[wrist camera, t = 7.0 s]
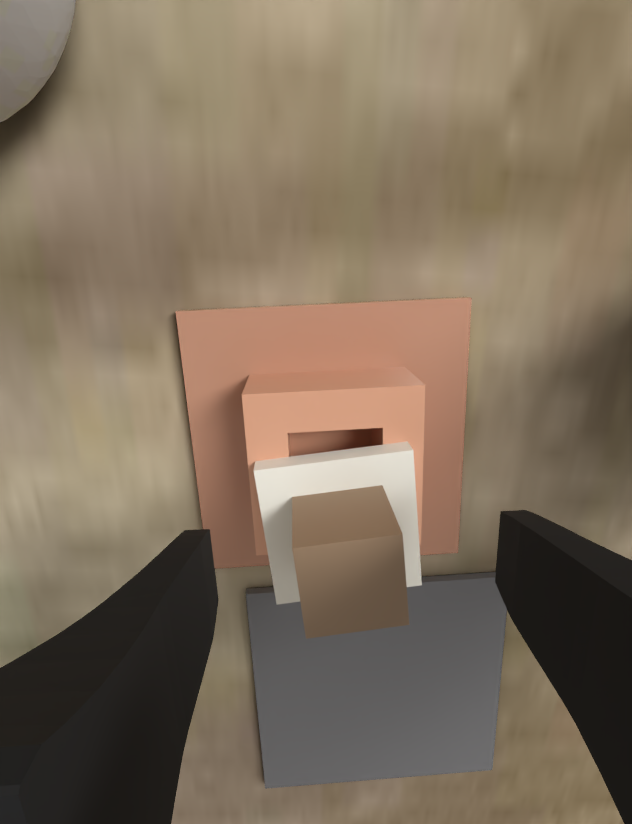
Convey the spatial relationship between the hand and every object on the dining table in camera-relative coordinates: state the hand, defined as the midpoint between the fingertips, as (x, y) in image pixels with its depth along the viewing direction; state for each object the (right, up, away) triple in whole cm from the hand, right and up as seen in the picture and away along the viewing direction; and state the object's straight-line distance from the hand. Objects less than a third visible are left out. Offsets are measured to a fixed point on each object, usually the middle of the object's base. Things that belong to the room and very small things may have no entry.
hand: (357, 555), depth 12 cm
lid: (0, 0, +5) cm, 5 cm away
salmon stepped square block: (0, +2, +8) cm, 8 cm away
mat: (+2, -10, +12) cm, 16 cm away
